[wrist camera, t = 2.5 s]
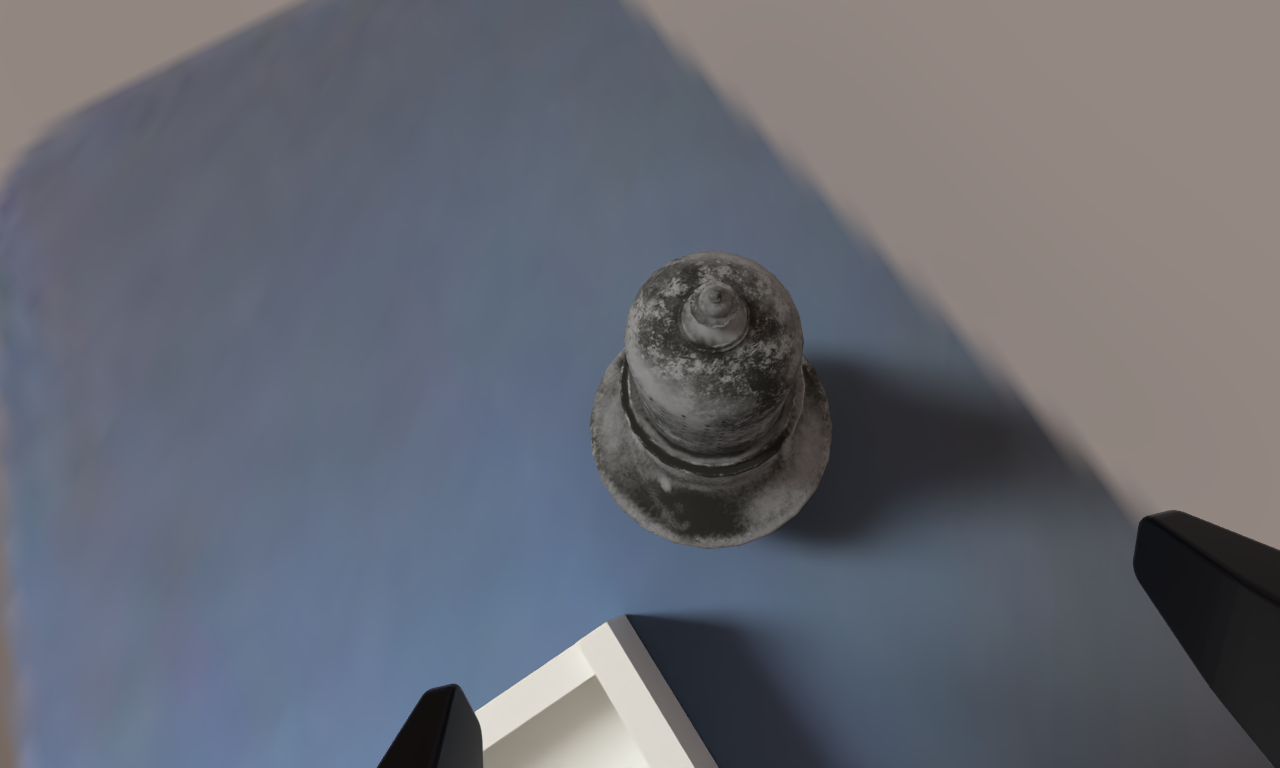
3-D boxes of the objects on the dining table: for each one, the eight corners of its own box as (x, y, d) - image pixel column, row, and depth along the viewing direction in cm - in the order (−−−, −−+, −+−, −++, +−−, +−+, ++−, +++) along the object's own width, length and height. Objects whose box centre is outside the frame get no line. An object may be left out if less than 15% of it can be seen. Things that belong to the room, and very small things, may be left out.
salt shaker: (746, 319, 22) (792, 36, 11) (850, 491, 21) (1039, 375, 9) (573, 411, 22) (429, 219, 10) (666, 592, 20) (619, 605, 9)
